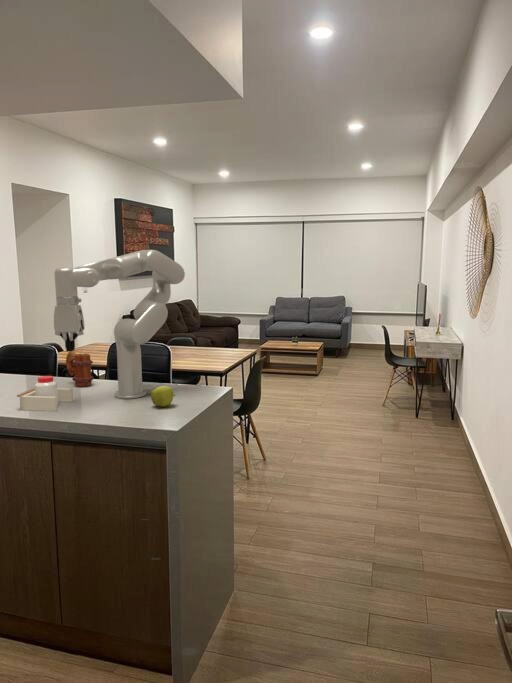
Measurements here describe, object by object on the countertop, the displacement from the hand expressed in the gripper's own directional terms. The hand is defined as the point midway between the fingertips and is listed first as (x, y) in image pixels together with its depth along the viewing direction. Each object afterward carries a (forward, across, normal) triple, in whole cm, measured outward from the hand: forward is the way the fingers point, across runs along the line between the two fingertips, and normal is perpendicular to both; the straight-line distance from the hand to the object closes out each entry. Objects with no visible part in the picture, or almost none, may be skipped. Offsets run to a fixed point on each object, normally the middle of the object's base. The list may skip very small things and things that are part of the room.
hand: (70, 350), depth 190 cm
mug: (+22, +14, -34) cm, 43 cm away
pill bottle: (+21, +10, +1) cm, 24 cm away
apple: (+22, -34, -3) cm, 41 cm away
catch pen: (+21, +11, +1) cm, 24 cm away
